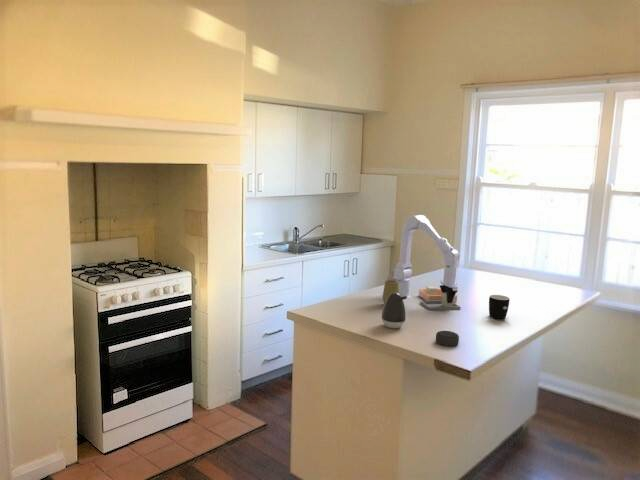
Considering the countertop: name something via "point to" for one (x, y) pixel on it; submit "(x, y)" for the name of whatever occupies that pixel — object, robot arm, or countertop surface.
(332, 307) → the countertop surface
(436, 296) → the bin
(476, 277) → the countertop surface
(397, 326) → the pump dispenser
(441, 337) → the smart speaker
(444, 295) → the stone right
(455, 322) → the countertop surface
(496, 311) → the mug
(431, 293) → the block
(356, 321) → the countertop surface
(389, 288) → the squeeze bottle
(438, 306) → the stone tray
